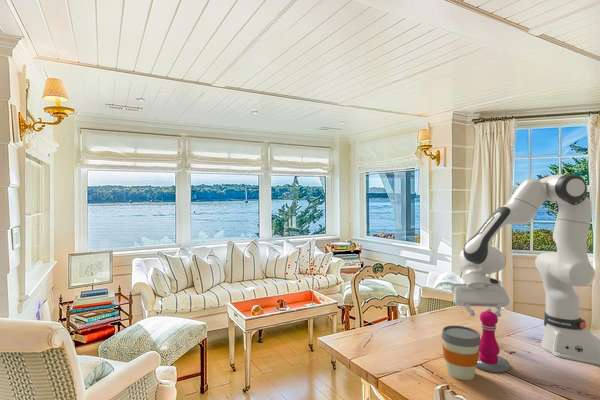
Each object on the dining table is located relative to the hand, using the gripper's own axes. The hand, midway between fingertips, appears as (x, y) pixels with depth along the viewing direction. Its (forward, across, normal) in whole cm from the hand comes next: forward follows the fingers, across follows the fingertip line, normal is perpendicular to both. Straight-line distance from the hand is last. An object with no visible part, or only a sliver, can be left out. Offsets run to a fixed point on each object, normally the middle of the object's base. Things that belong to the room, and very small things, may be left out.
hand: (485, 315), depth 137 cm
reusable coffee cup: (+21, -13, +3) cm, 25 cm away
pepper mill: (+14, 0, +8) cm, 16 cm away
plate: (+14, 0, +9) cm, 17 cm away
